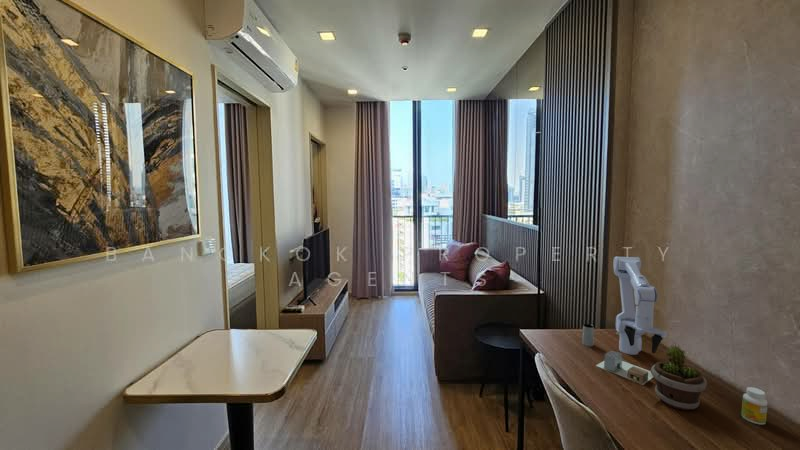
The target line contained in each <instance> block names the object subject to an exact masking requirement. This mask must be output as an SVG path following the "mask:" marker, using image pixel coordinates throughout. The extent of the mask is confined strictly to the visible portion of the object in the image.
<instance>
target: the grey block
mask: <svg viewBox="0 0 800 450" xmlns="http://www.w3.org/2000/svg"><path fill="white" fill-rule="evenodd" d="M603 361H604V369H603V370H605V369H607V370H609V371H608V372H610V371H612V372H614V373H613V374H615V372H617V368H618V369H621V368H622V361H623V353H622V352H621V353H620V352H618V351H614V350H609V351H608V352H606V353H604V359H603ZM607 370H606V371H607ZM612 372H611V373H612Z"/></svg>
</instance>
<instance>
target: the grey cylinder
mask: <svg viewBox="0 0 800 450" xmlns="http://www.w3.org/2000/svg"><path fill="white" fill-rule="evenodd" d="M594 332H595V326H594V325H593V324H590V323H583V324H582V340H581V341H582V342H581V343H582V345H583V346H585V347H593V346H594V339H595V338H594V337H595V336H594Z"/></svg>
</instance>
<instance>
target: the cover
mask: <svg viewBox="0 0 800 450" xmlns="http://www.w3.org/2000/svg"><path fill="white" fill-rule="evenodd" d="M637 367H638V366H637ZM637 367H634V366H633V367H631V368H630V369H628V372H627V377H628V378H632V377H633V376H634V375H635V376H638V377H639V382H640V383H643V382H645V381H646V380H647V379H648V371H649V370H648V371H645V370H642V369H640V368H641V367H640V368H637Z"/></svg>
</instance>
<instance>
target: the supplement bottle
mask: <svg viewBox="0 0 800 450" xmlns="http://www.w3.org/2000/svg"><path fill="white" fill-rule="evenodd" d="M768 406H769V405H768V401H767V400H766V392H765V391H764V390H761V389H760V388H757V387H753V386H752V387H751V386H748V387H746V393H743V394H742V402H741V416H742V418H743V419H744V420H746V421H748V422H751V423H752V424H757V425H766V422H767V414H768Z"/></svg>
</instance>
